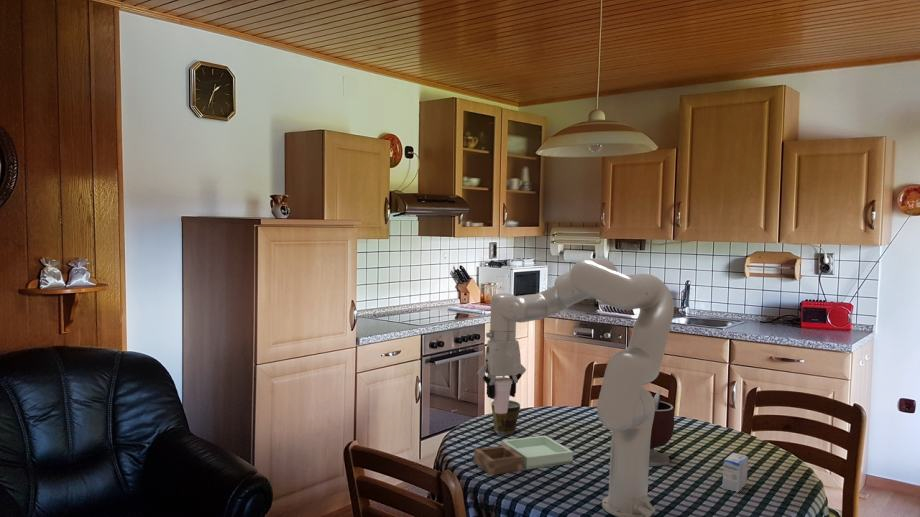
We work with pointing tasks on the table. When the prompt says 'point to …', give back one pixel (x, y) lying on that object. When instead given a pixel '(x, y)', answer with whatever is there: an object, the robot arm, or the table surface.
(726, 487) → the medicine box
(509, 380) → the smoothie
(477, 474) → the table surface
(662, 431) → the mate gourd
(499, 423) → the ceramic cup
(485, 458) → the socket block
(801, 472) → the table surface
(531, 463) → the tray
